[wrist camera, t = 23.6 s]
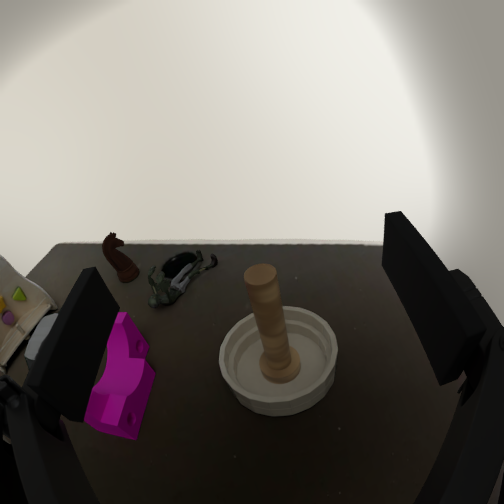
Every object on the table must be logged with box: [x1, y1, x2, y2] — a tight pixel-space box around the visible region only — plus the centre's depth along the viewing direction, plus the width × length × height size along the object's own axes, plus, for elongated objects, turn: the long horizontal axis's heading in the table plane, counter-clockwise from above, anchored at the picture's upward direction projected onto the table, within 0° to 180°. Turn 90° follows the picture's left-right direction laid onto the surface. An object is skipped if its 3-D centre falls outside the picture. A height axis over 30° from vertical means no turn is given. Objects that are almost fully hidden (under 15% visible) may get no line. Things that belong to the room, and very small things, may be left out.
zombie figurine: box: [148, 250, 218, 308], centre depth 49 cm, size 5×7×15 cm
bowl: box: [219, 306, 338, 416], centre depth 33 cm, size 13×13×4 cm
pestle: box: [244, 264, 301, 384], centre depth 30 cm, size 5×5×15 cm
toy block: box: [84, 312, 156, 440], centre depth 33 cm, size 15×6×8 cm, turn 175°
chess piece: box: [102, 232, 139, 283], centre depth 54 cm, size 5×5×10 cm
